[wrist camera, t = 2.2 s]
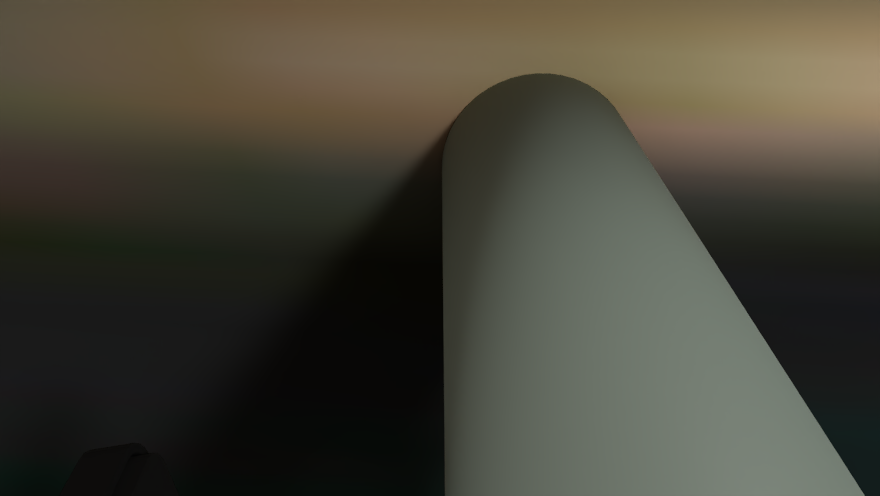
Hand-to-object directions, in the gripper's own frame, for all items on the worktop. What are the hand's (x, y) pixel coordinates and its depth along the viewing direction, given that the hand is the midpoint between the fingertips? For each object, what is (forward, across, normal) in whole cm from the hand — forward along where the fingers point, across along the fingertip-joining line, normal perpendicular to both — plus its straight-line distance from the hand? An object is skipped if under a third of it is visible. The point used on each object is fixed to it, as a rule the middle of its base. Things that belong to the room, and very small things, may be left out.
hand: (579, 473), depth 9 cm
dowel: (+9, -1, 0) cm, 9 cm away
